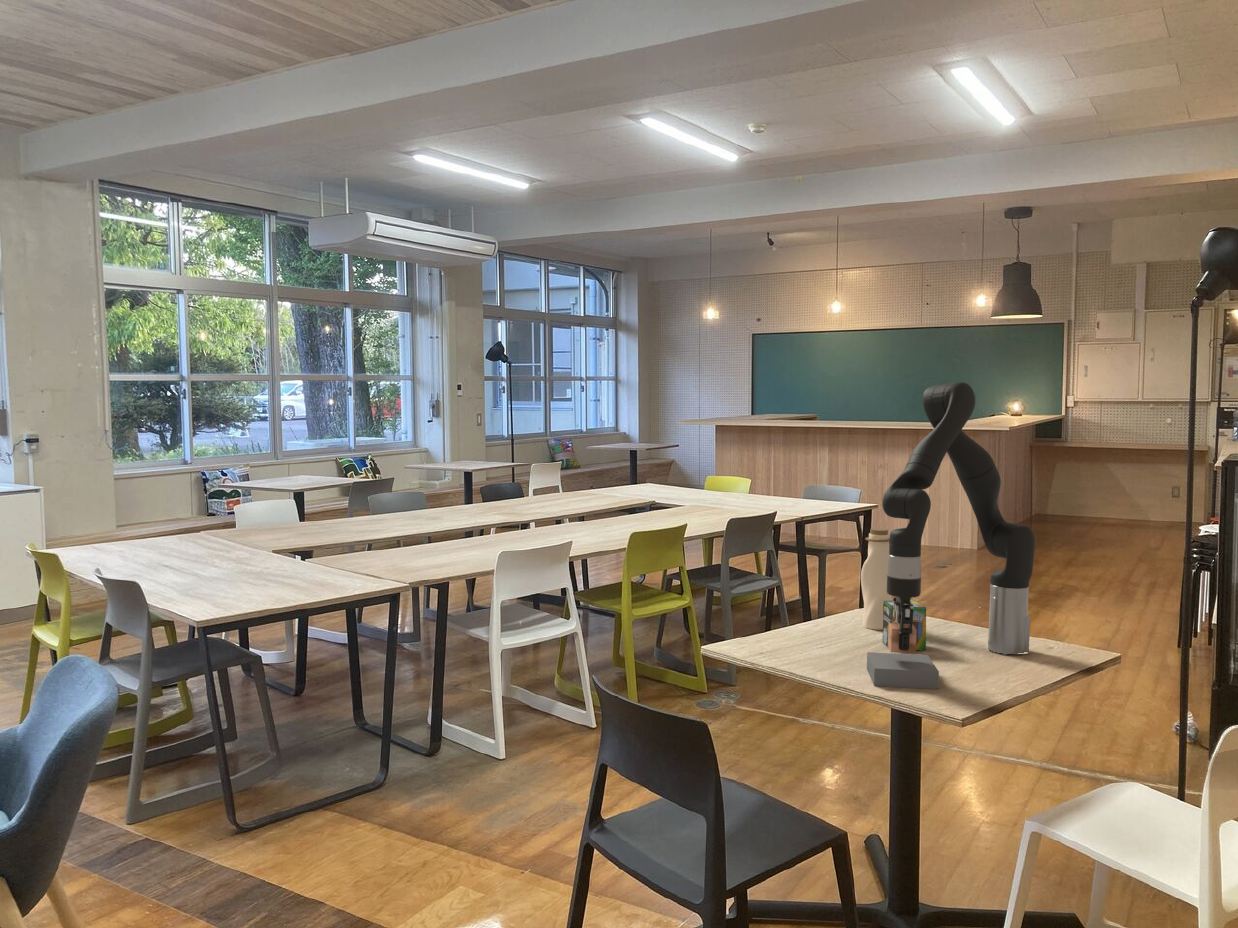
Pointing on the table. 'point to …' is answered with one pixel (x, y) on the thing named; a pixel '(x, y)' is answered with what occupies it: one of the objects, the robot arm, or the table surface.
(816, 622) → the table surface
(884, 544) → the water bottle
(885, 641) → the chalk box
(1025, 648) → the robot arm
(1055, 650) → the table surface
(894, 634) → the terracotta cube
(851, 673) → the table surface
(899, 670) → the charcoal base
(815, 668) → the table surface
